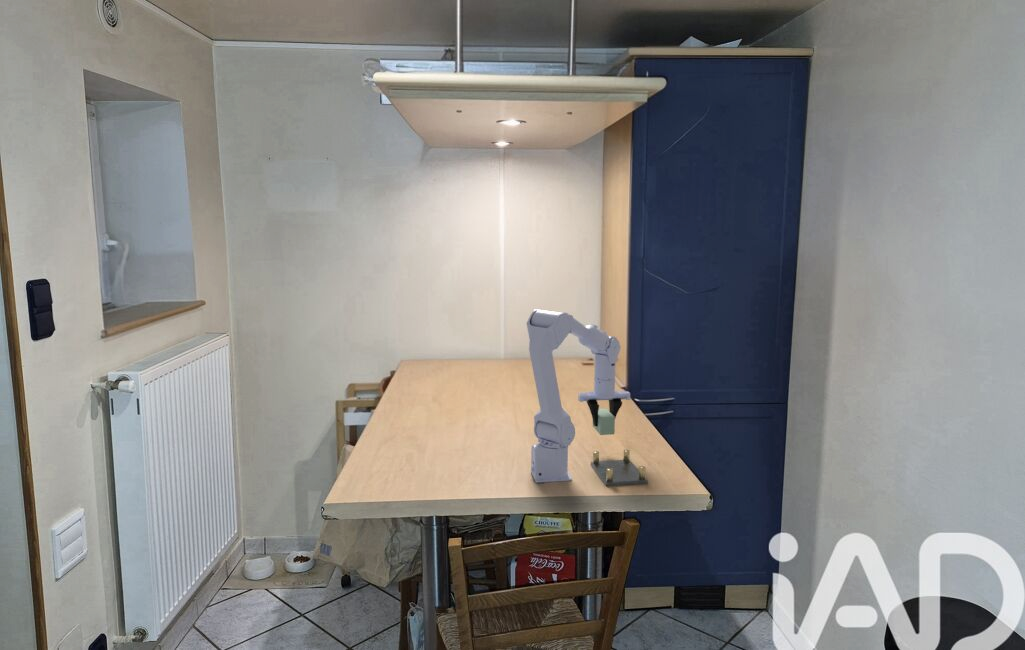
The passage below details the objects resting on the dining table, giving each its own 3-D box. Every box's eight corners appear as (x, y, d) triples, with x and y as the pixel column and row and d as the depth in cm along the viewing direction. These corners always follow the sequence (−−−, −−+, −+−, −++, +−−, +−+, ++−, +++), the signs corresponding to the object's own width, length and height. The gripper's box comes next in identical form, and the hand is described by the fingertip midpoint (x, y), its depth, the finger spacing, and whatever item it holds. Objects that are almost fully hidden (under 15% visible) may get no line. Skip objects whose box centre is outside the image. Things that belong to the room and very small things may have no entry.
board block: (600, 435, 192) (600, 417, 191) (592, 426, 200) (592, 409, 199) (614, 434, 193) (614, 416, 192) (606, 425, 201) (606, 408, 200)
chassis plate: (605, 486, 176) (606, 471, 175) (590, 465, 190) (590, 451, 189) (647, 483, 177) (648, 468, 177) (629, 462, 192) (629, 449, 191)
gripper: (625, 373, 199) (623, 419, 201) (575, 375, 197) (574, 421, 199) (633, 379, 192) (631, 427, 194) (582, 381, 190) (581, 429, 192)
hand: (603, 425), depth 196 cm, fingers closed on board block, 4 cm apart
